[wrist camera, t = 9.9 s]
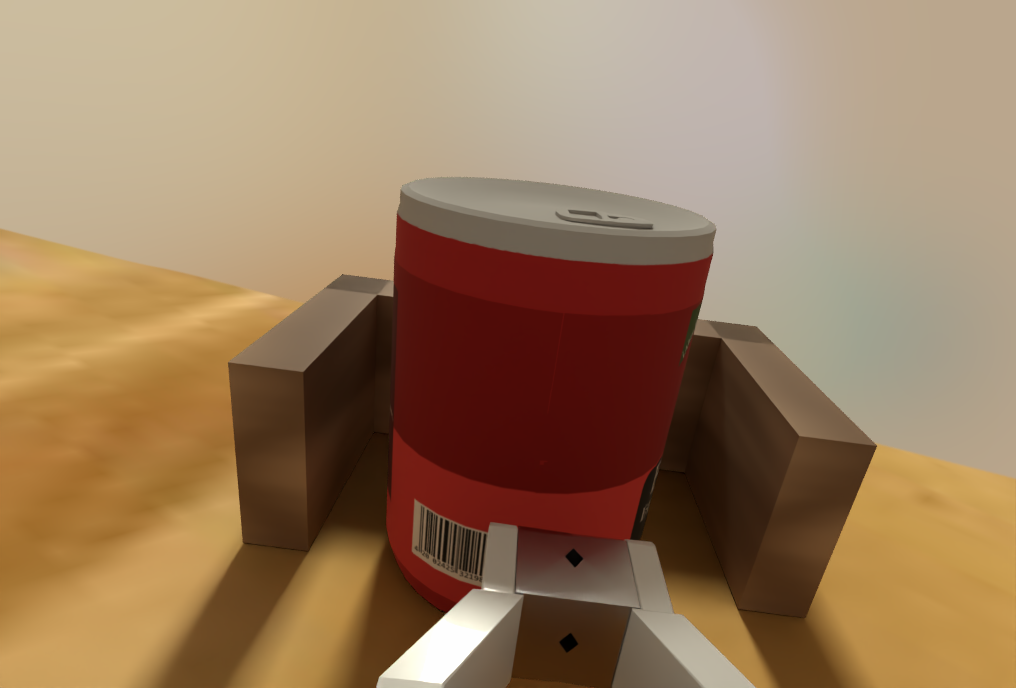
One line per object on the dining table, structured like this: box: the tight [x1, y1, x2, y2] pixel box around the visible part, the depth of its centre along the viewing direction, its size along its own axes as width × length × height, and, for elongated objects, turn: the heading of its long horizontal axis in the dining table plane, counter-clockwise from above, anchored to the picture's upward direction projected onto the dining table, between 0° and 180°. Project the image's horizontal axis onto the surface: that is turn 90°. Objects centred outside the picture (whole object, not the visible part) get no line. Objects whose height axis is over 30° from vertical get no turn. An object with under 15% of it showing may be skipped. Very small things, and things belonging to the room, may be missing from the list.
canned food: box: [386, 177, 716, 613], centre depth 16 cm, size 8×8×11 cm
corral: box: [228, 274, 877, 618], centre depth 20 cm, size 17×9×6 cm, turn 87°
